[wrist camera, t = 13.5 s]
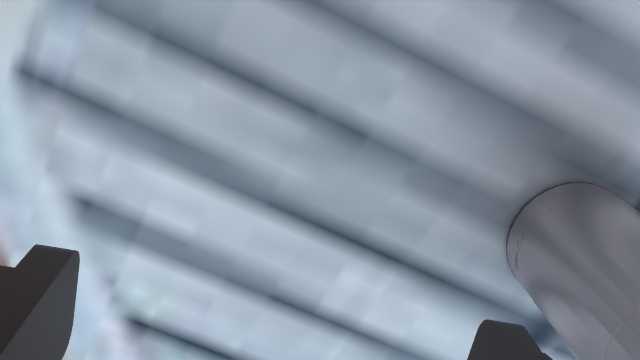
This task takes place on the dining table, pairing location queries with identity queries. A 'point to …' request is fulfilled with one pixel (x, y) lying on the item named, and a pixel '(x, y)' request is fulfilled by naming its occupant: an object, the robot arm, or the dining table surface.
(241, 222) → the dining table surface
